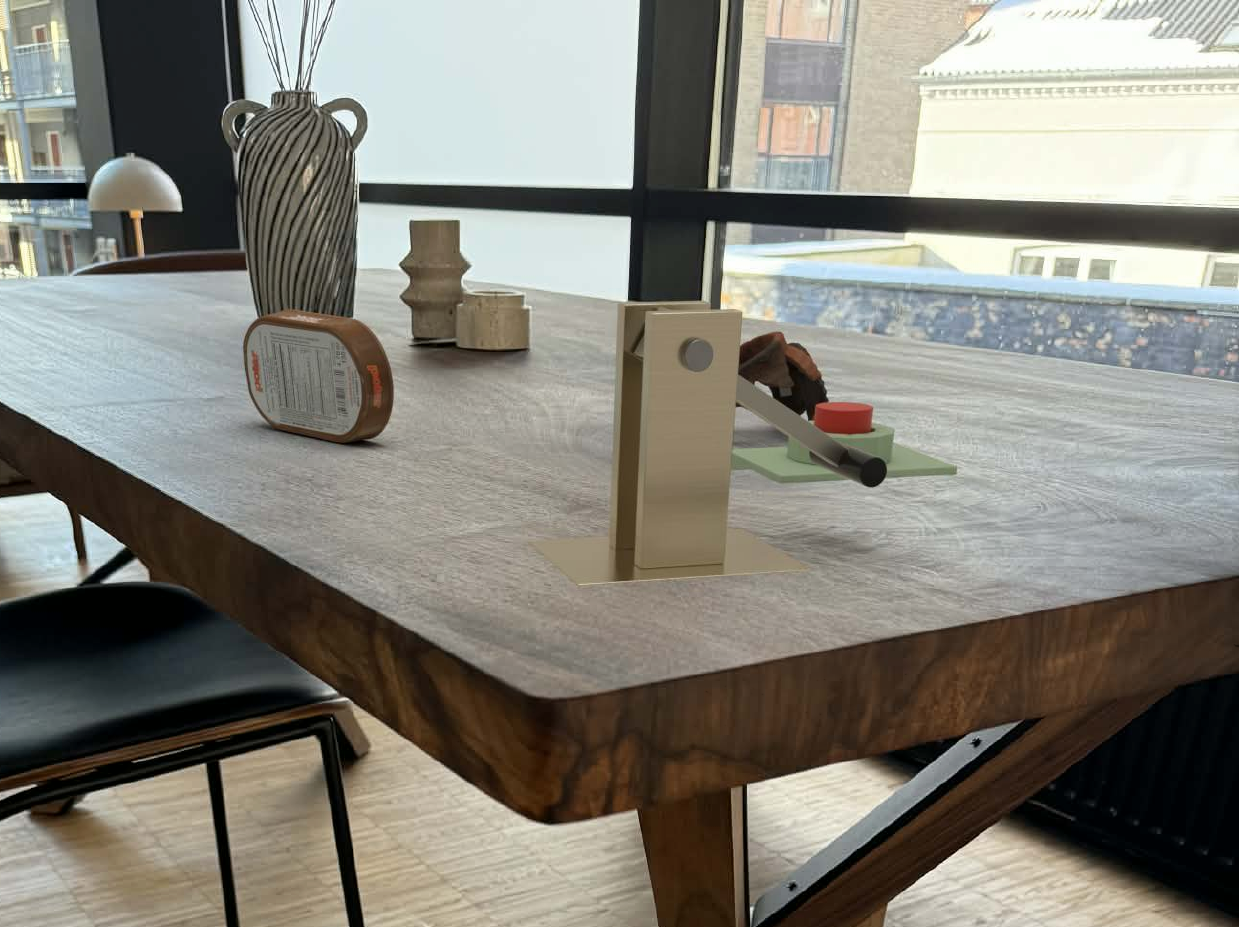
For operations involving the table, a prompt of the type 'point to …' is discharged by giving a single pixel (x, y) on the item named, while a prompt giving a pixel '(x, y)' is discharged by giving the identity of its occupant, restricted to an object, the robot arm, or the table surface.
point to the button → (843, 417)
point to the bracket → (671, 456)
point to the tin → (318, 375)
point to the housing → (799, 468)
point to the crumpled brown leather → (783, 372)
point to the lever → (806, 434)
